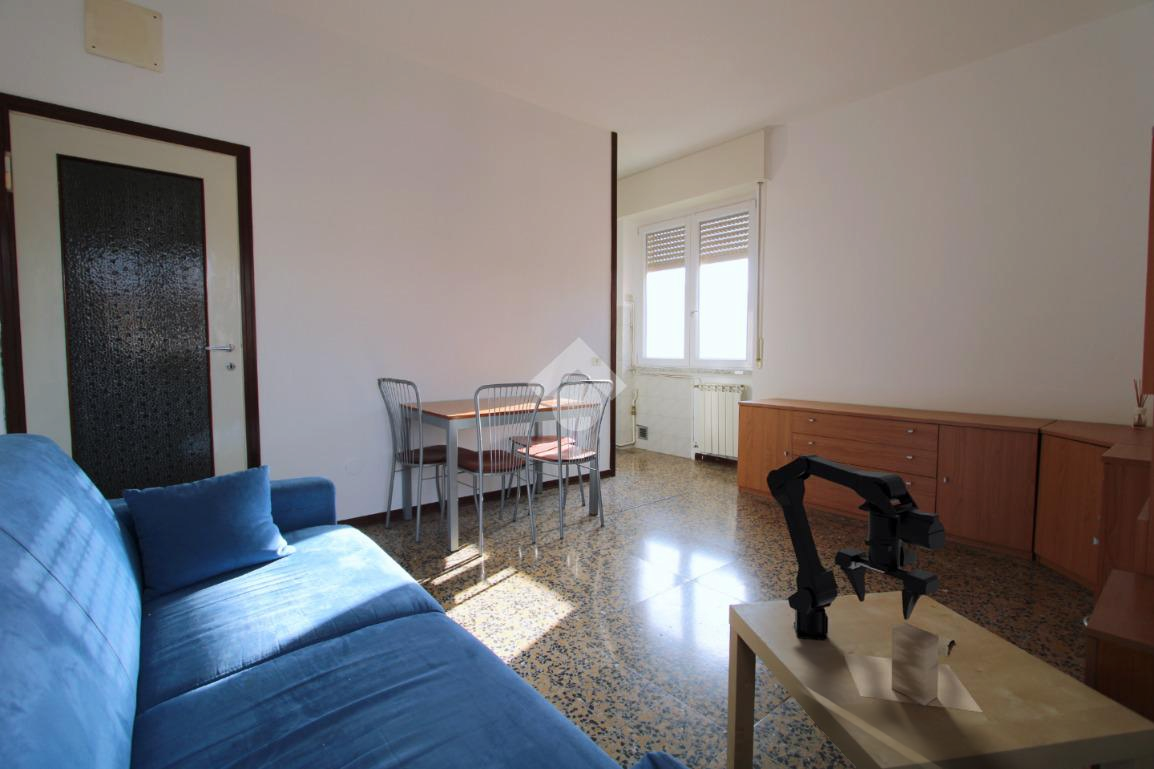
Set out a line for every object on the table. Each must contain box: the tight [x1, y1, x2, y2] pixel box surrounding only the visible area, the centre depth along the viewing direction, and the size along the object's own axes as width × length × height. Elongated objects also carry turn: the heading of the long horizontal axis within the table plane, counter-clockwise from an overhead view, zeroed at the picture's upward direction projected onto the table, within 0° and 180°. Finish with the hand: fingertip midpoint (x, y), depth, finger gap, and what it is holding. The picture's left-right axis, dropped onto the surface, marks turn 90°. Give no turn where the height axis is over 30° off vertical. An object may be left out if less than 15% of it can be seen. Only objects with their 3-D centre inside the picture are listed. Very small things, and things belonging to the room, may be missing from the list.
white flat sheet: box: [842, 652, 984, 713], centre depth 105 cm, size 20×15×1 cm
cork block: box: [891, 622, 940, 707], centre depth 101 cm, size 6×4×12 cm
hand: (883, 609), depth 110 cm, fingers open, 9 cm apart
